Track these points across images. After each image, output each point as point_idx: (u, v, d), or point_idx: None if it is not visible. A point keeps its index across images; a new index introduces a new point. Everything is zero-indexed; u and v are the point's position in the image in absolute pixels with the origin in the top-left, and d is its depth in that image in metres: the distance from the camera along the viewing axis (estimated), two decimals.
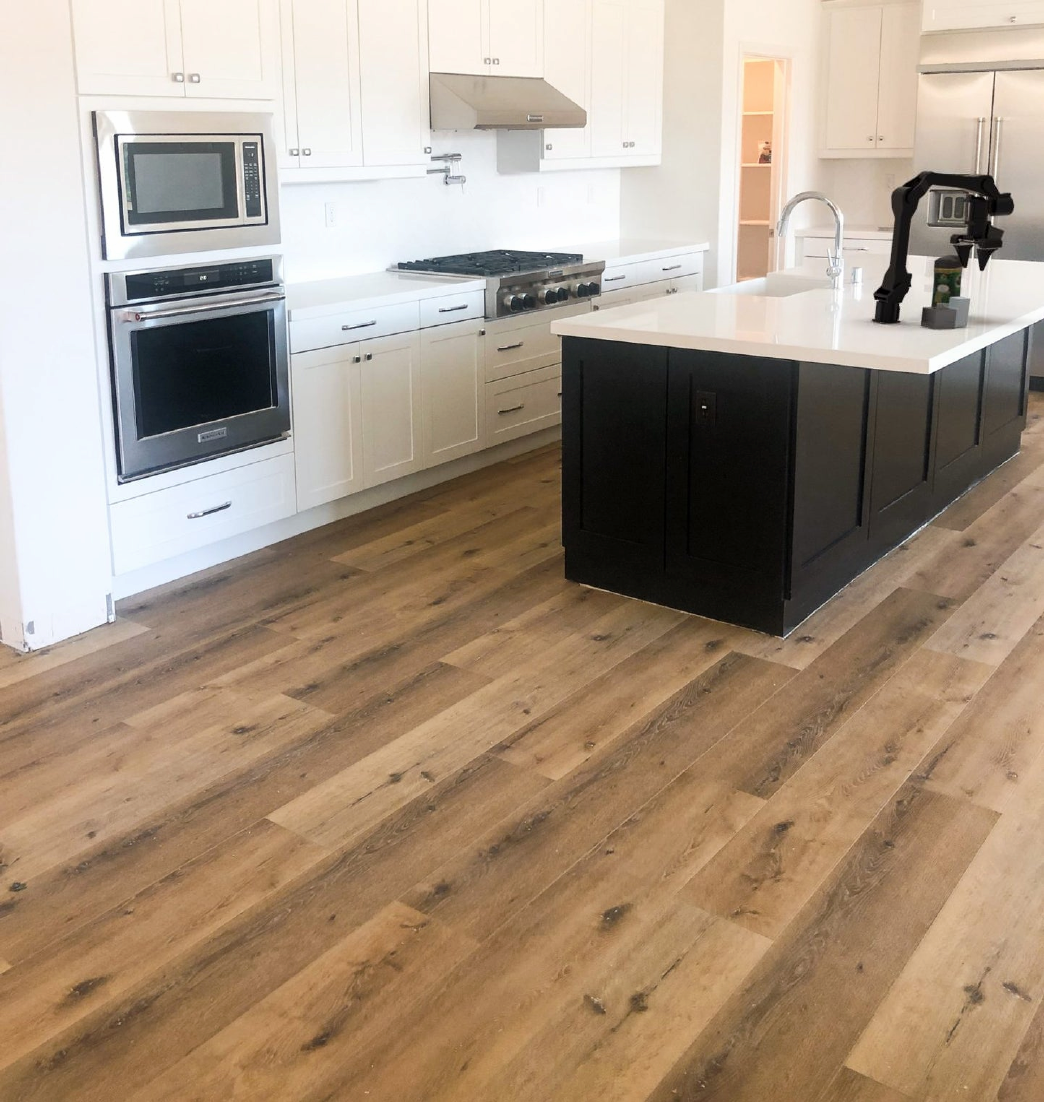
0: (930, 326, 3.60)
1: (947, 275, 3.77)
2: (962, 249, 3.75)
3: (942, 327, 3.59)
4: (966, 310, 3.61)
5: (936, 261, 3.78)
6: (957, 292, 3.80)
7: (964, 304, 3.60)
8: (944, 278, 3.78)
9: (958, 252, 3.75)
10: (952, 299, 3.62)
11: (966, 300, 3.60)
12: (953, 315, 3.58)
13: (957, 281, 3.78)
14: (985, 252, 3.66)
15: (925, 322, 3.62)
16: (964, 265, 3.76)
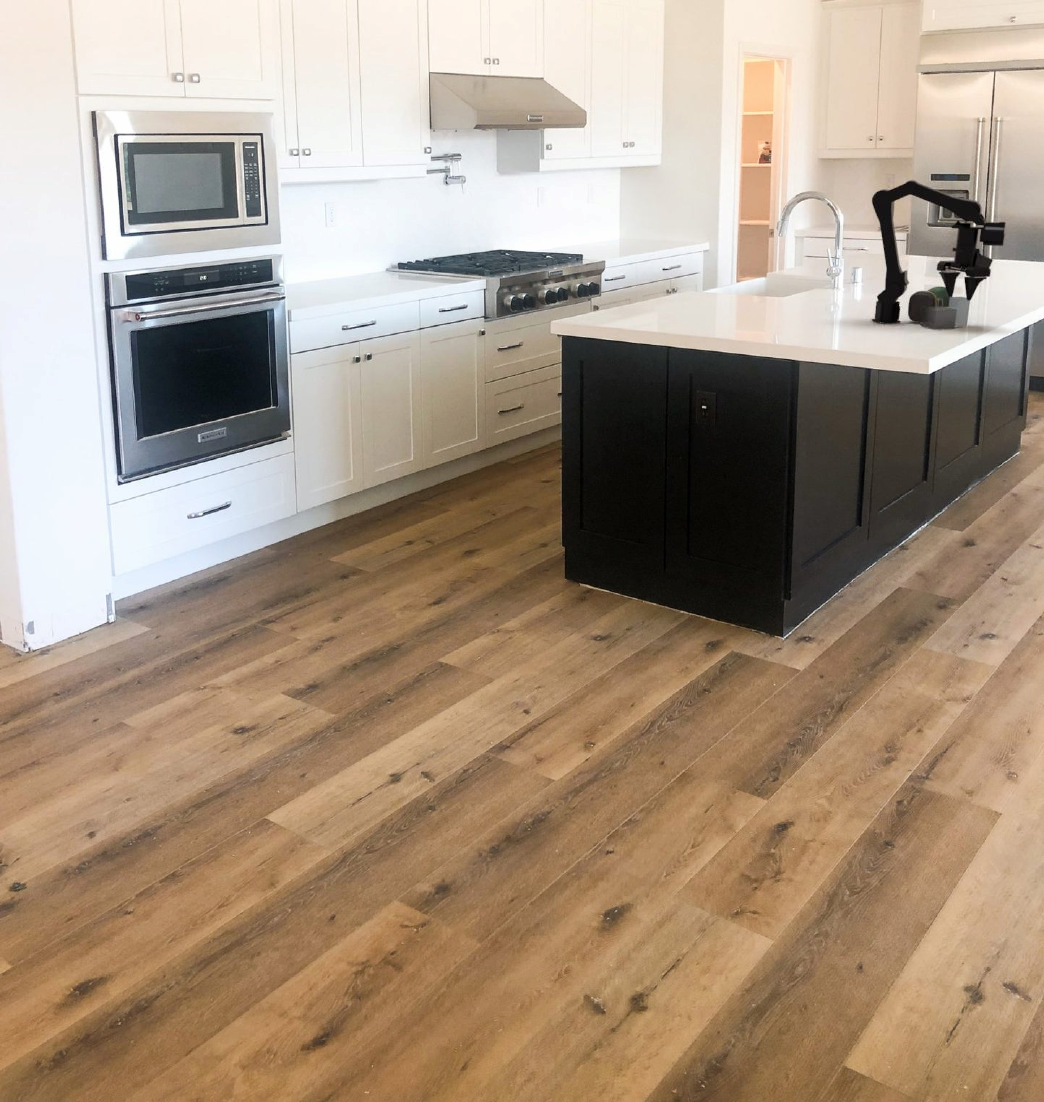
0: (930, 326, 3.60)
1: None
2: (948, 276, 3.64)
3: (942, 327, 3.59)
4: (966, 310, 3.61)
5: (911, 319, 3.71)
6: None
7: (964, 304, 3.60)
8: None
9: (944, 279, 3.64)
10: (952, 299, 3.62)
11: (966, 300, 3.60)
12: (953, 315, 3.58)
13: None
14: (973, 281, 3.54)
15: (925, 322, 3.62)
16: (950, 293, 3.65)
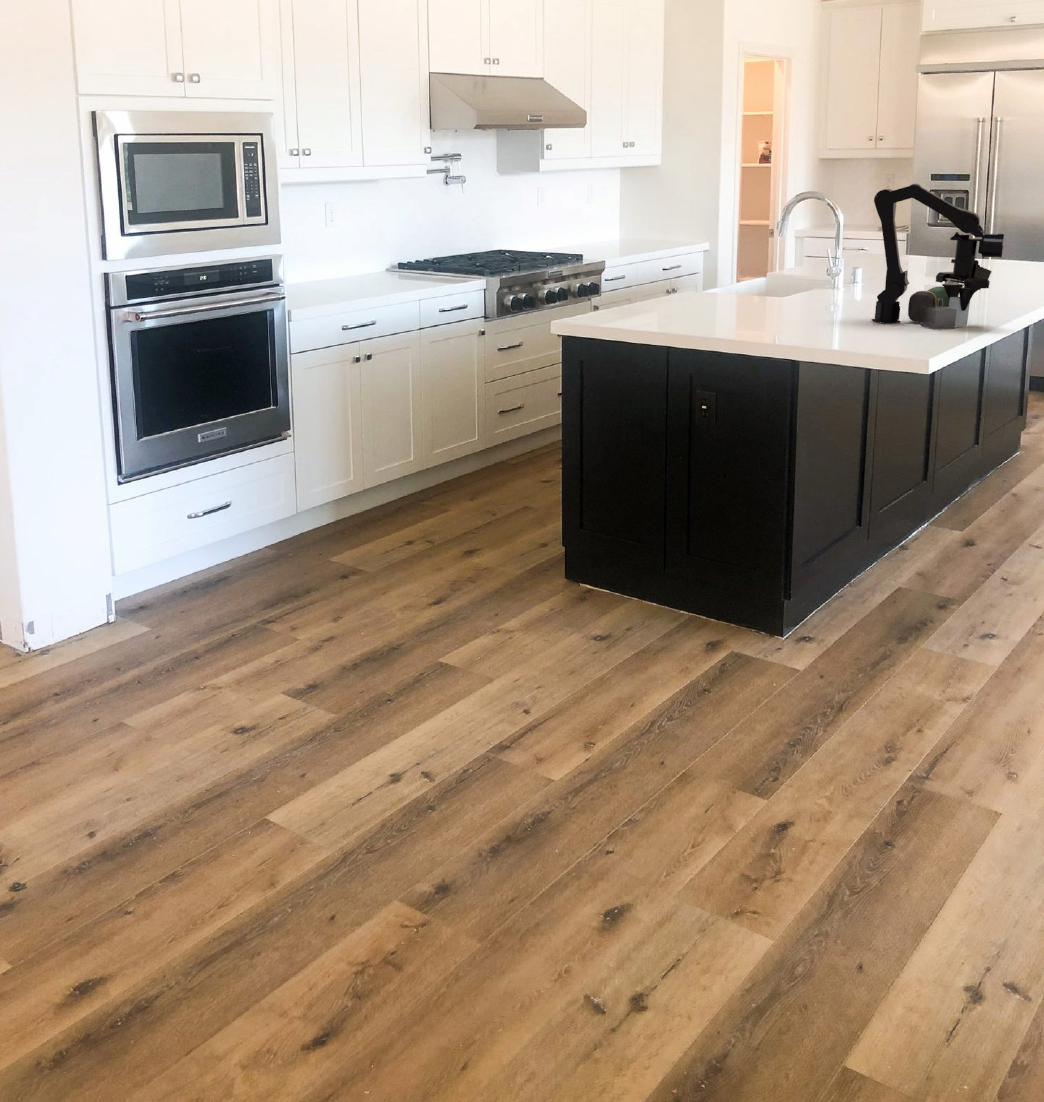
0: (930, 326, 3.60)
1: None
2: (951, 289, 3.63)
3: (942, 327, 3.59)
4: (966, 310, 3.61)
5: (911, 319, 3.71)
6: None
7: None
8: None
9: (947, 292, 3.63)
10: (952, 299, 3.62)
11: None
12: (953, 315, 3.58)
13: None
14: (967, 291, 3.57)
15: (925, 322, 3.62)
16: None
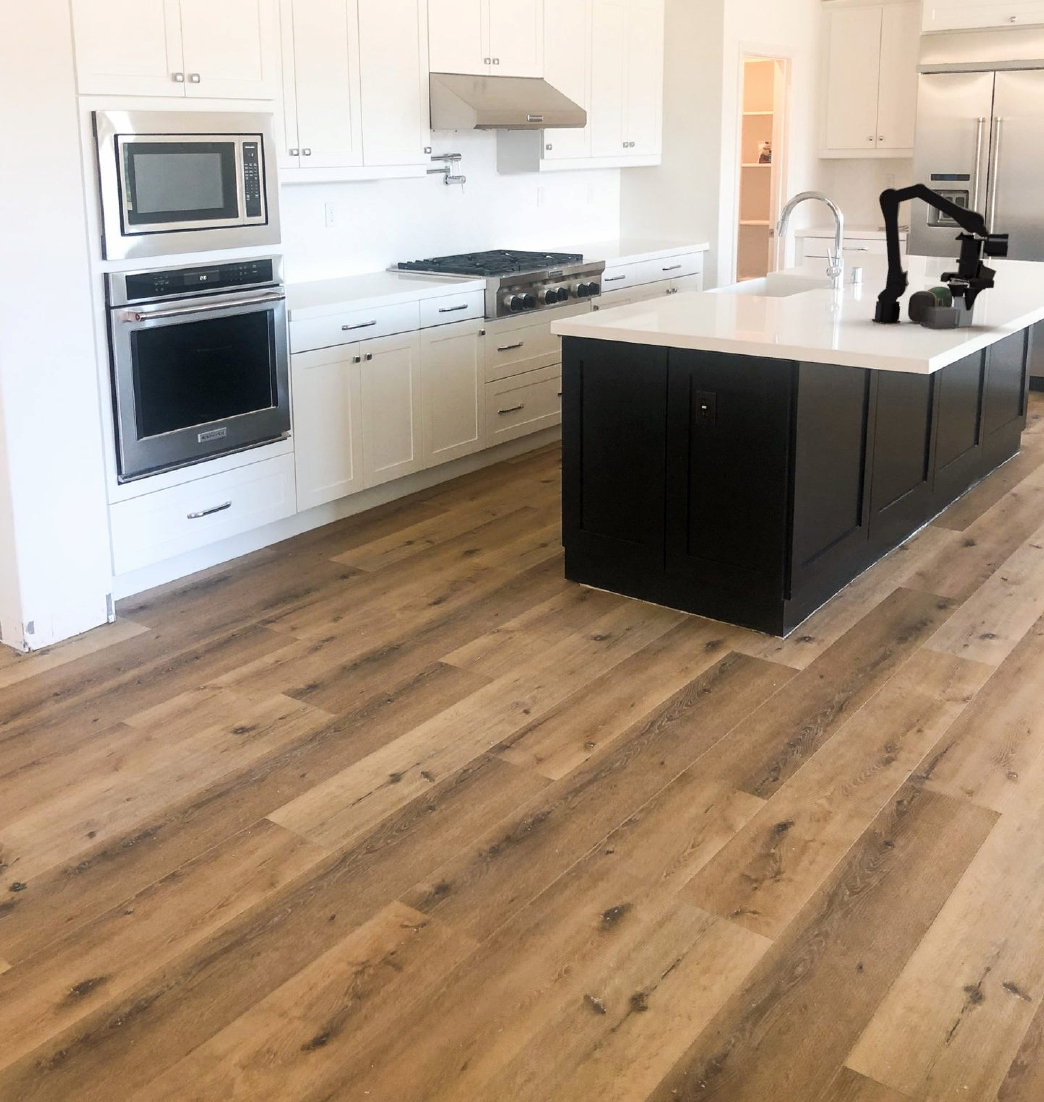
0: (930, 326, 3.60)
1: None
2: (956, 289, 3.63)
3: (942, 327, 3.59)
4: (971, 310, 3.61)
5: (911, 319, 3.71)
6: None
7: None
8: None
9: (952, 292, 3.63)
10: (957, 299, 3.62)
11: None
12: (953, 315, 3.58)
13: None
14: (972, 291, 3.58)
15: (925, 322, 3.62)
16: None
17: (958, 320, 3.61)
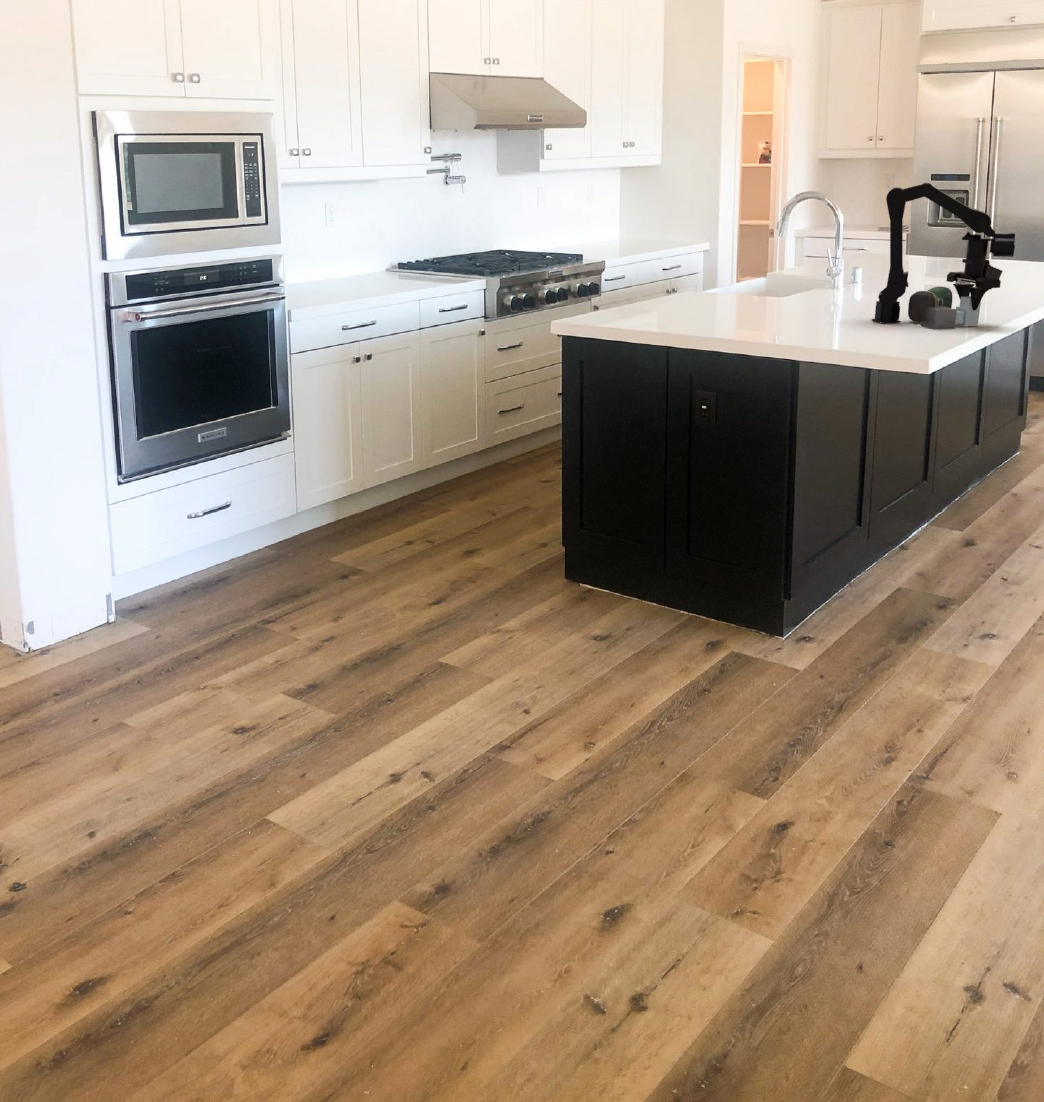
0: (930, 326, 3.60)
1: None
2: (962, 288, 3.64)
3: (942, 327, 3.59)
4: (977, 310, 3.62)
5: (911, 319, 3.71)
6: None
7: None
8: None
9: (958, 291, 3.64)
10: (963, 299, 3.62)
11: None
12: (953, 315, 3.58)
13: None
14: (978, 291, 3.58)
15: (925, 322, 3.62)
16: None
17: (964, 320, 3.61)
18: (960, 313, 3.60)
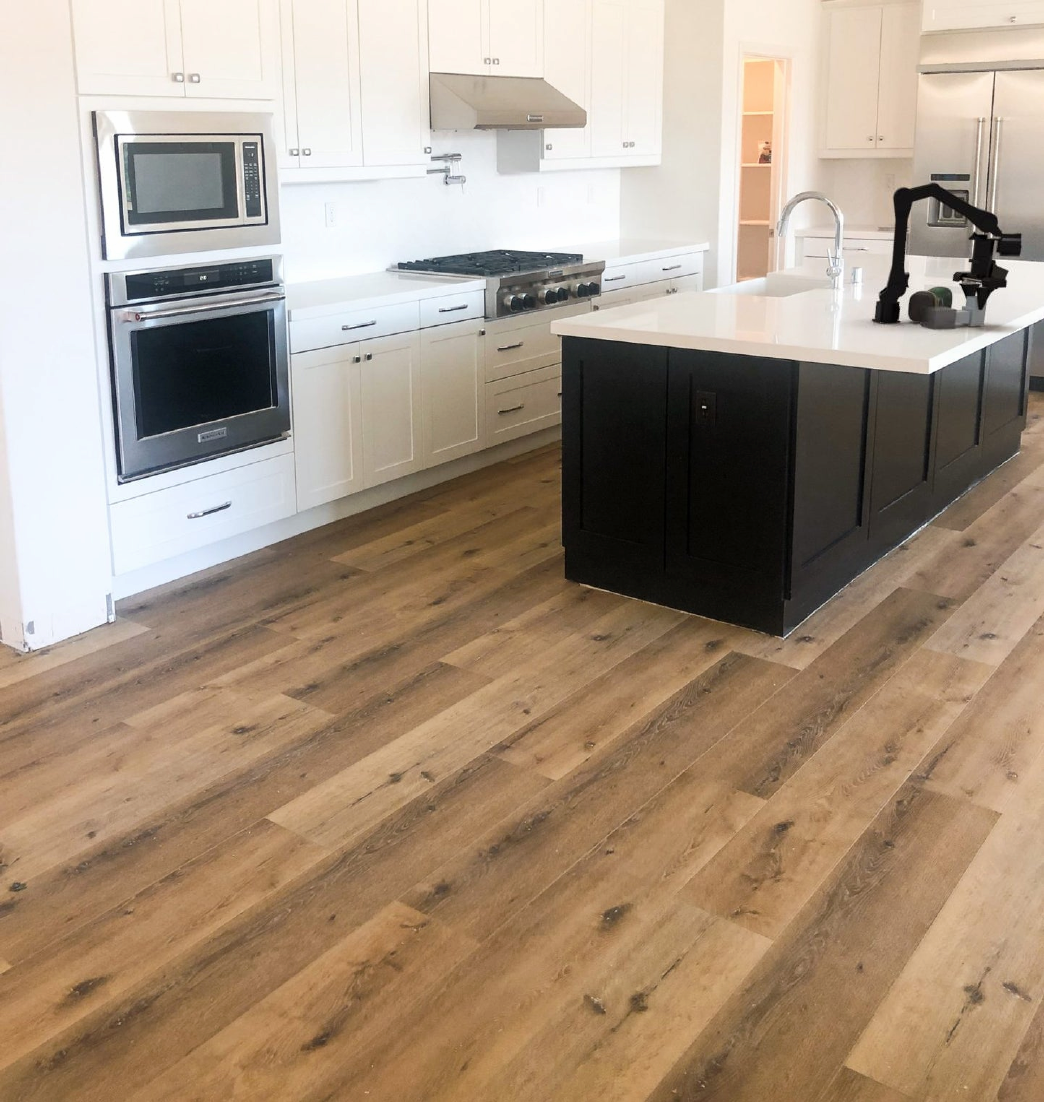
0: (930, 326, 3.60)
1: None
2: (968, 288, 3.64)
3: (942, 327, 3.59)
4: (983, 309, 3.62)
5: (911, 319, 3.71)
6: None
7: None
8: None
9: (964, 291, 3.65)
10: (969, 298, 3.63)
11: None
12: (953, 315, 3.58)
13: None
14: (984, 291, 3.59)
15: (925, 322, 3.62)
16: None
17: (970, 319, 3.62)
18: (966, 313, 3.61)
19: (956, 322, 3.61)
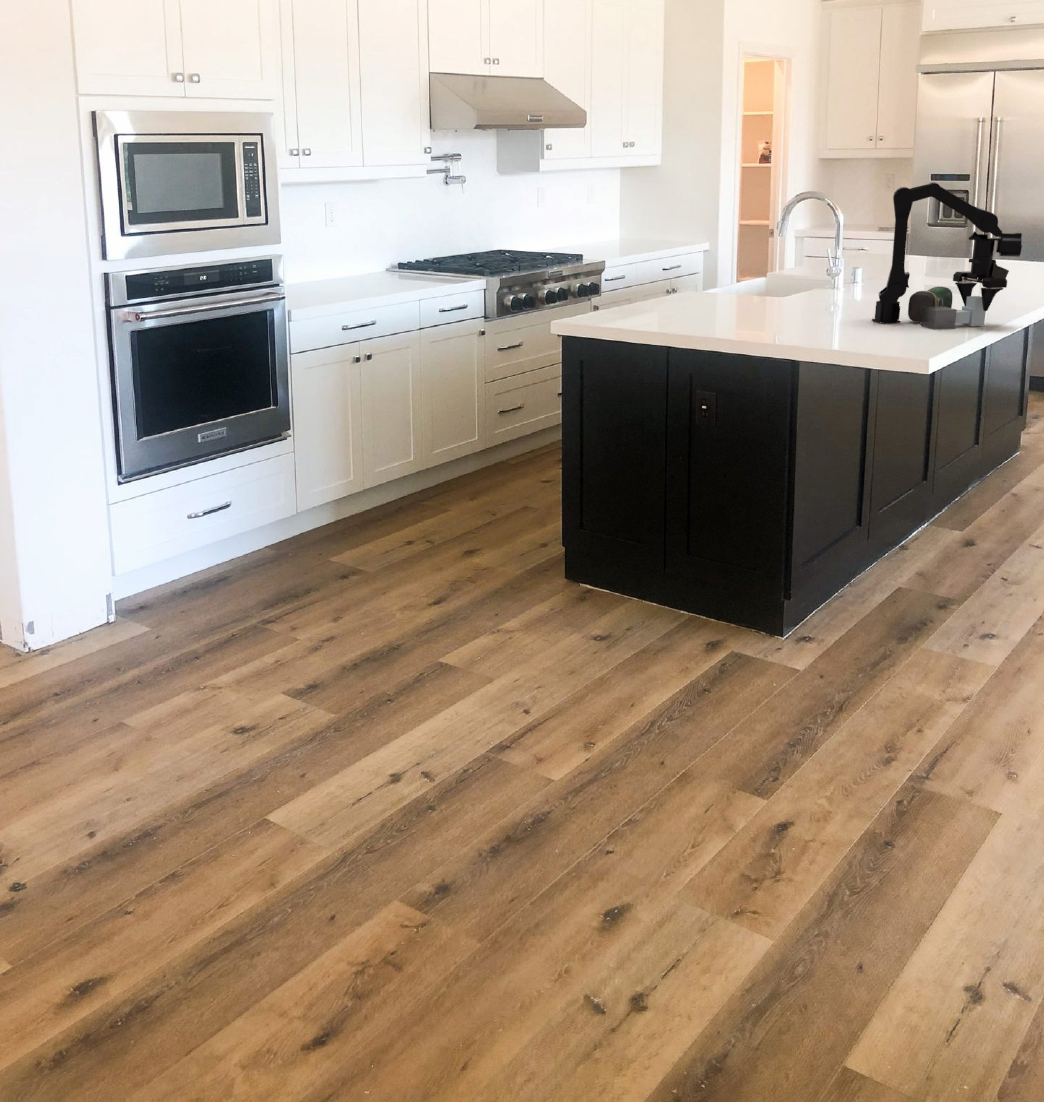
0: (930, 326, 3.60)
1: None
2: (964, 287, 3.66)
3: (942, 327, 3.59)
4: None
5: (911, 319, 3.71)
6: None
7: (981, 304, 3.61)
8: None
9: (960, 290, 3.67)
10: (969, 298, 3.63)
11: None
12: (953, 315, 3.58)
13: None
14: (989, 292, 3.57)
15: (925, 322, 3.62)
16: None
17: (970, 319, 3.62)
18: (966, 313, 3.61)
19: (956, 322, 3.61)
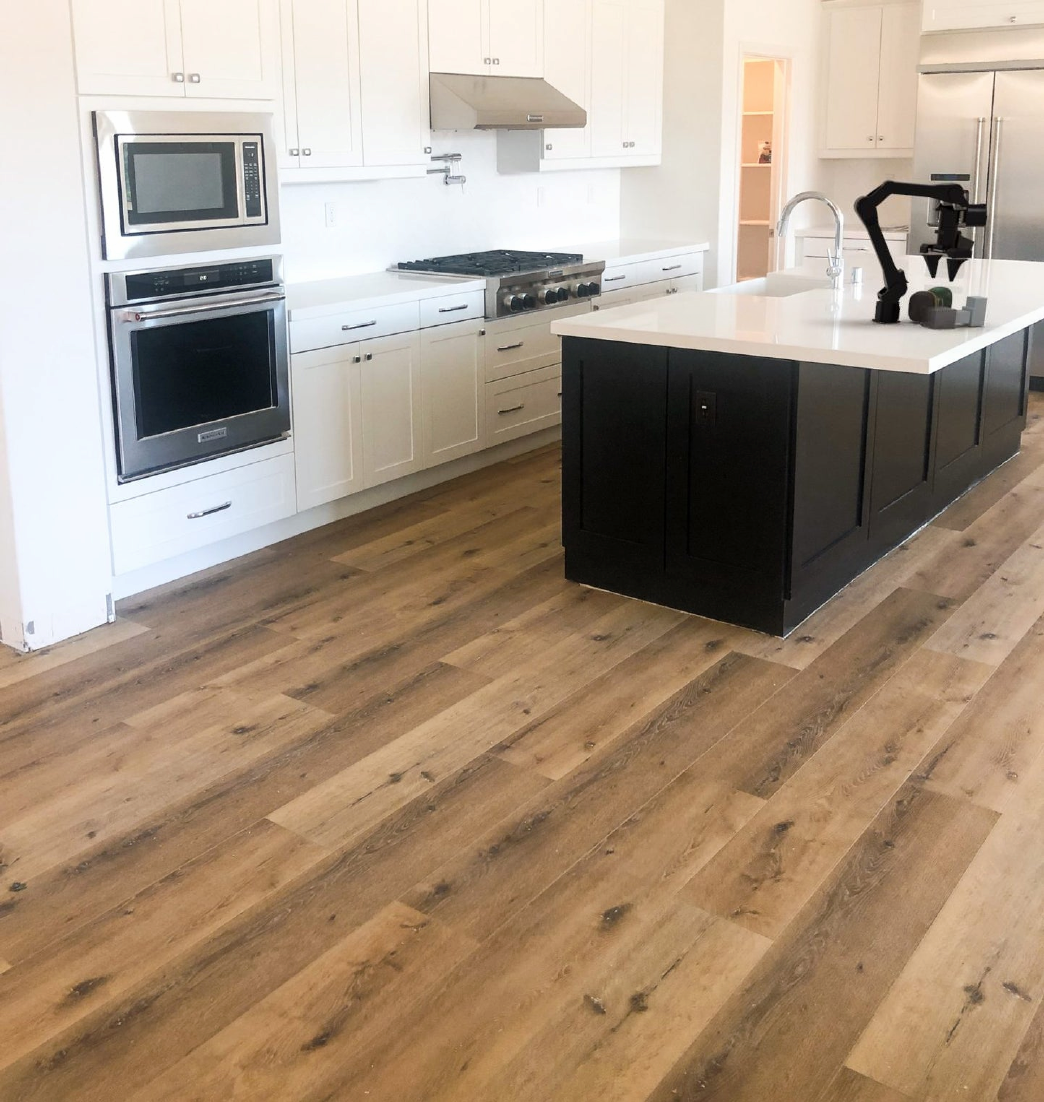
0: (930, 326, 3.60)
1: None
2: (931, 259, 3.68)
3: (942, 327, 3.59)
4: (983, 309, 3.62)
5: (911, 319, 3.71)
6: None
7: (981, 304, 3.61)
8: None
9: (927, 262, 3.68)
10: (969, 298, 3.63)
11: (983, 299, 3.61)
12: (953, 315, 3.58)
13: None
14: (955, 262, 3.58)
15: (925, 322, 3.62)
16: (932, 275, 3.69)
17: (970, 319, 3.62)
18: (966, 313, 3.61)
19: (956, 322, 3.61)
